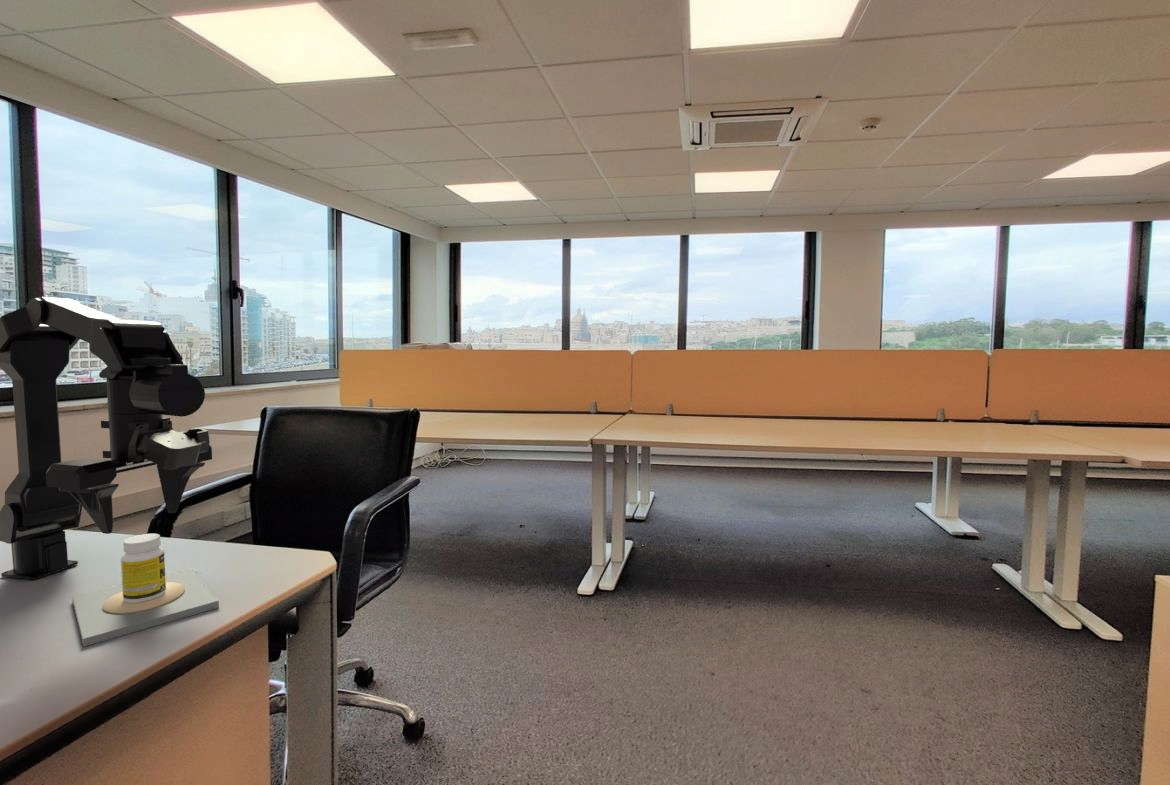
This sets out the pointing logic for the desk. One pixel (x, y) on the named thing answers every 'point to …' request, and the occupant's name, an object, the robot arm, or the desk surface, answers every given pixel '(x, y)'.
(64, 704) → the desk surface
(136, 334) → the robot arm
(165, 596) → the slate board
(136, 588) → the supplement bottle
